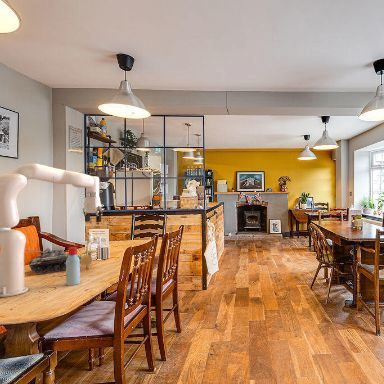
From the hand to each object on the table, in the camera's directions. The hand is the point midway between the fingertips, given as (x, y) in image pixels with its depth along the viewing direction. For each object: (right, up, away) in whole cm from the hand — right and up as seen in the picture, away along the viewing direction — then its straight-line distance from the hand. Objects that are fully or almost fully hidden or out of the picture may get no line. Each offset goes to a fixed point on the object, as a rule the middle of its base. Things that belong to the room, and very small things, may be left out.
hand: (93, 221), depth 184 cm
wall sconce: (-5, -31, +3) cm, 32 cm away
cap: (+4, -15, -27) cm, 31 cm away
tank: (-25, -31, +1) cm, 40 cm away
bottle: (+4, -31, -27) cm, 41 cm away
